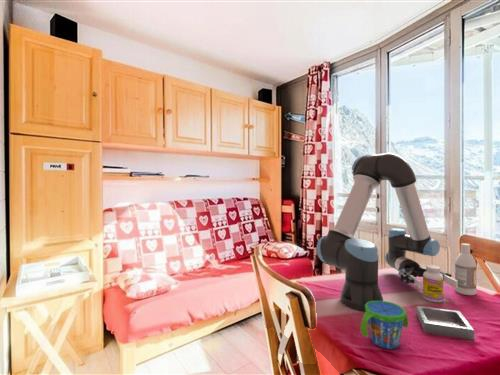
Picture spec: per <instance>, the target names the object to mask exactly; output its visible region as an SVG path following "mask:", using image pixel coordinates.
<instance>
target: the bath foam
mask: <svg viewBox="0 0 500 375" xmlns="http://www.w3.org/2000/svg"><path fill="white" fill-rule="evenodd" d="M460 245H461V246H460V251H461V252H460V253H459V254H458V256H456V259H455V261H454V262H455V263H454V279H455V280H457V281H458V288H455V287H454V290H455V292H456V293H458V294H462V295H465V296H475V295H476V294H477V262H476V260H475V258H474V257H473V255H472V254H471V244H470V243H463V242H462V243H461V244H460Z"/></svg>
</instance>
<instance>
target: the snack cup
mask: <svg viewBox="0 0 500 375" xmlns="http://www.w3.org/2000/svg"><path fill="white" fill-rule="evenodd" d="M361 318H362V319H361V323H360V327H359V328H360V332H361V334H362V335H363V337H365V338H368V337H370V340H371V341H372V343H373V344H374V345H375V346H378V347H380V348H383V349H387V350H392V349H393V350H394V349H396V348H398V347H400V343H401V338H402V332H403V327H404V328H408V327H409V319H408V318H409V317H408V313H407V311H406V309H404V308H403V307H402V306H400V305H398V304H397V303H393V302H391V301H385V300H383V301H370V302H367V303H366V304H365V311H364V314H363V316H362V317H361ZM368 330H369V332H368Z"/></svg>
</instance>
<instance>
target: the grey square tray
mask: <svg viewBox="0 0 500 375" xmlns="http://www.w3.org/2000/svg"><path fill="white" fill-rule="evenodd" d="M416 316H417V318H418V320H419V323H420V325H421V327H422V329H423V333H425V334H432V335H439V336H444V337H450V338H457V339H464V340H469V341H470V340H471V341H475V329H474V328H473V327H472V325H471V324H470V323H469V321H468V320H467V319H466V317H465V316H464V314H462V312H461V310H453V309H452V310H451V309H446V308H445V309H444V308H439V307H436V308H435V307H429V306H423V305H421V306H420V305H416Z"/></svg>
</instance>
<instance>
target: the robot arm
mask: <svg viewBox="0 0 500 375" xmlns="http://www.w3.org/2000/svg"><path fill="white" fill-rule="evenodd" d="M351 166H352V167H351V174H352V179H353V180H352V181H354V182H353V185H352V187H351V189H350V191H349V194H348V197H347V199H346V201H345V203H344V204H343V207H342V210H341V212H340V214H339V216H338V219H337V221H336V224H335V226H334V227H333V228H331V229H329V230H328V232H327V234H326V235H323V236H321V237H320V238H319V239H318V241H317V244H316V253H317V257H318V258H319V260H320V261H321V262H322V263H325V264H326V265H328V266H333V267H335V268H338V269H340V270H342V271H344V272H345V273H344V274H345V276H344V277H345V279H344V284H343V286H342V289H341V292H340V302H341V303H342V304H343V305H344V304H345V305H344V306H345V307H348V308H350V309H352V308H353V310H356V311H362V312H366V311H365V304H366V303H367V302H370V301H384V297H383V295H382V292H381V289H380V286H379V250H378V246H377V245H376V244H375V243H374V242H371V241H368V240H365V239H363V238H362V239H360V238H355V237H354V236H355V234H356V232H357V229H358V226H359V225H360V223H361V220H362V217H363V215H364V214H365V210H366V208H367V206H368V204H369V201H370V198H371V196H372V195H373V194H372V193H373V192H374V190H375V189H377V188H379V187H380V184H381V182H382V181H388V182H389V183H390V186H391V187H392V188H393V189H394V190H395V193H396V198H397V199H398V202H399V206H400V209H401V212H402V215H403V217H404V218H403V219H404V221H405V225H406V228H407V231H408V234H407V232H406V229H403V228H390V229H389V230H388V237H387V238H388V239H387V240H388V244H387V246H388V251H387V252H386V253H385V256H384V261H385V262H386V264H387V265H388V266H389V267H391V268H393V269H395V270H397V271H398V275H399V277H400V281H401V282H404V281H405V283H406V284H412V285H413V286H415V287H417V288H418V289H422V280H420V279H419V278H423V273H424V272H426V271H427V270H426V268H423V267H421V265H420V264H419V262H416V261H415V260H413V259H411V258H409V257H407V256H406V255H407V254H406V253H407V252H410V253H413V254H414V253H415V254H420V255H423V256H426V257H427V256H428V257H436V256H437V255H438V254H439V252H440V248H441V245H440V242H439V241H438V240H437V239H434V238H432V237H431V234H430V232H429V228H428V225H427V221H426V218H425V215H424V212H423V209H422V208H423V207H422V205H421V201H420V198H419V195H418V191H417V188H416V185H415V184H416V183H417V178H416V176H415V172H414V169H413V168H412V167H411V166H410V164H409V163H408V162H407V160H405V159H404V158H403V157H402V156H400V155H399V154H396V153H393V152H385V153H377V154H366V155H361V156H359V157H357V158H355V160H354V162H352V165H351ZM440 274H442V275H443V283H446V284H447V285H450V286H451V287H453V288H454V289H455V288H458V281H457V280H455V278H453V277H452V274H451V273H449V272H444V271H442V270H441V271H440ZM417 277H418V278H417Z"/></svg>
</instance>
